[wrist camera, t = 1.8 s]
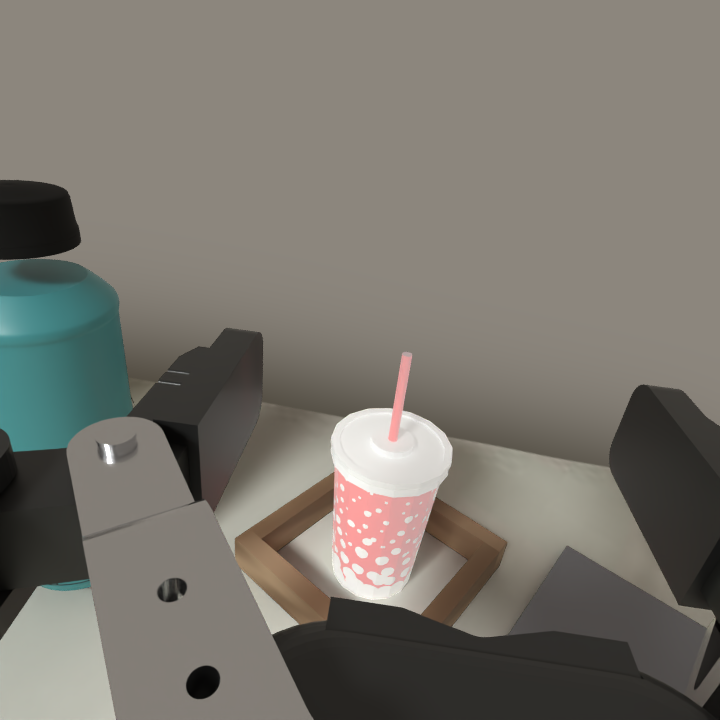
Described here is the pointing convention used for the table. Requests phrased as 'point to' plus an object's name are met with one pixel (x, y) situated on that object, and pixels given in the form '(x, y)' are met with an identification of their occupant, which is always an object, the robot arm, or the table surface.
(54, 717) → the table surface
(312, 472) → the table surface
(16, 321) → the beverage bottle
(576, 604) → the rubber mat
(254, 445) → the table surface
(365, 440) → the beverage cup
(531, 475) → the table surface
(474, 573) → the walnut holder
